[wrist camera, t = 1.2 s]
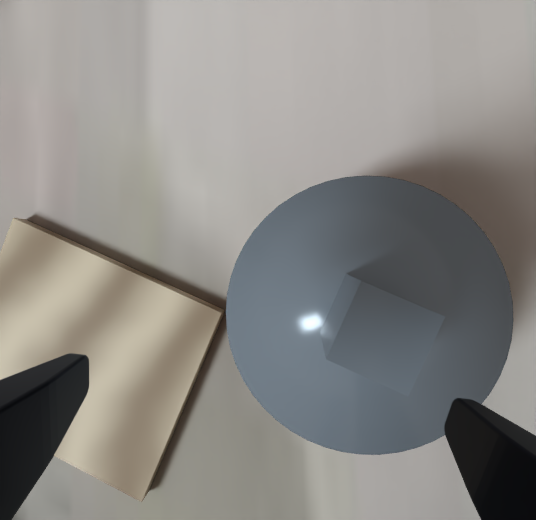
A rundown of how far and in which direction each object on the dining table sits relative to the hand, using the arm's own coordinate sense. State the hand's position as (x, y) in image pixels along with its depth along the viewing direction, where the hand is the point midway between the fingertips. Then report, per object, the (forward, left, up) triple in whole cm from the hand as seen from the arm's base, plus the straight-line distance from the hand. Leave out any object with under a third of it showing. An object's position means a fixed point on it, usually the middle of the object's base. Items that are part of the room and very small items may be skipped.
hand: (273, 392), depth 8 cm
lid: (-3, -2, -9) cm, 9 cm away
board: (+12, +9, -14) cm, 20 cm away
